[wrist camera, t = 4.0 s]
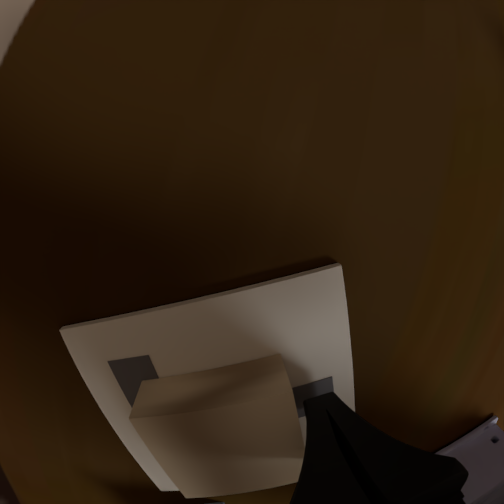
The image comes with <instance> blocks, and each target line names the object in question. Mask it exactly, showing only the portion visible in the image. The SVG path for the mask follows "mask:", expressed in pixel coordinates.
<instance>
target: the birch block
mask: <svg viewBox="0 0 504 504" xmlns="http://www.w3.org/2000/svg"><path fill="white" fill-rule="evenodd" d="M129 420H130V422H131V423H132V425H133V427H134V428H135V430H136V431H137V433H138V434H139V436H140V437H141V439H142V440H143V442H144V443H145V445H146V446H147V448H148V449H149V451H150V452H151V454H152V455H153V456H154V458H155V459H156V461H157V462H158V463H159V465H160V466H161V467H162V469H163V470H164V471H165V473H166V474H167V475H168V477H169V478H170V479H171V480H172V482H173V483H174V484H175V486H176V487H177V488H178V489H179V490H180V492H181V493H182V494H183V495H184V497H185V498H201V497H213V496H222V495H231V494H238V493H245V492H251V491H257V490H263V489H268V488H273V487H278V486H283V485H287V484H291V483H296V482H298V479H299V475H300V472H301V468H302V463H303V458H304V452H305V446H304V441H303V437H302V432H301V427H300V423H299V418H298V413H297V409H296V404H295V399H294V395H293V390H292V387H291V384H290V381H289V378H288V375H287V372H286V369H285V366H284V363H283V360H282V357H281V354H276V355H273V356H269V357H264V358H260V359H256V360H252V361H248V362H243V363H239V364H234V365H229V366H225V367H220V368H215V369H210V370H205V371H199V372H194V373H188V374H183V375H177V376H171V377H164V378H158V379H151V380H144V381H142V382H141V385H140V388H139V390H138V393H137V396H136V399H135V402H134V404H133V407H132V410H131V413H130V416H129Z"/></svg>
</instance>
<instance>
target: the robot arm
mask: <svg viewBox="0 0 504 504" xmlns="http://www.w3.org/2000/svg"><path fill="white" fill-rule="evenodd" d="M303 405H304V411H305V416H306V423H307V424H306V444H305V452H304V458H303V463H302V468H301V472H300V475H299V479H298V482H297V486H296V488H295V491H294V494H293V496H292V499H291V501H290V504H504V432H503V431H502V430H501V428H500V427H499V426H498V425H497V424H496V423H497V420H498V417H497V416H496V415H495V416H493V417H492V418H490V419H489V420H487V421H486V422H485V423H483V424H482V425H480V426H479V427H477V428H476V429H474V430H473V431H471V432H470V433H468V434H467V435H465V436H463V437H462V438H460V439H459V440H457V441H455V442H454V443H452V444H450V445H449V446H447V447H445V448H443V449H442V450H440V451H438V452H436V453H431V452H427V451H424V450H421V449H418V448H415V447H413V446H410V445H408V444H405V443H403V442H401V441H399V440H396V439H394V438H392V437H391V436H389V435H387V434H385V433H383V432H382V431H380V430H379V429H377V428H376V427H374V426H373V425H371V424H370V423H368V422H367V421H365V420H364V419H363V418H362V417H360V416H359V415H358V414H357V413H355V412H354V411H353V410H352V409H351V408H350V407H348V406H347V405H346V404H345V403H344V402H343V401H342V400H341V399H340V398H339V397H338V396H337V395H336V394H335V393H334V392H329V393H326V394H322V395H319V396H316V397H312V398H309V399H305V400H304V401H303Z"/></svg>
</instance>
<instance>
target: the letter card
mask: <svg viewBox="0 0 504 504" xmlns="http://www.w3.org/2000/svg"><path fill="white" fill-rule="evenodd" d="M59 331H60V333H61V335H62V338H63V340H64V342H65V344H66V346H67V348H68V350H69V352H70V354H71V356H72V358H73V360H74V362H75V364H76V366H77V368H78V370H79V372H80V374H81V376H82V378H83V379H84V381H85V383H86V385H87V387H88V388H89V390H90V392H91V394H92V395H93V397H94V399H95V400H96V402H97V404H98V405H99V407H100V409H101V410H102V412H103V413H104V415H105V417H106V418H107V420H108V421H109V423H110V424H111V426H112V427H113V429H114V430H115V432H116V433H117V435H118V436H119V438H120V439H121V441H122V442H123V443H124V445H125V446H126V448H127V449H128V450H129V452H130V453H131V454H132V456H133V457H134V458H135V460H136V461H137V462H138V464H139V465H140V466H141V467H142V469H143V470H144V471H145V472H146V474H147V475H148V476H149V477H150V479H151V480H152V481H153V482H154V483H155V485H156V486H157V487H158V488H159V489H160V490H161V491H179V489H178V488H177V487H176V486H175V484H174V483H173V482H172V480H171V479H170V478H169V477H168V475H167V474H166V473H165V471H164V470H163V469H162V467H161V466H160V465H159V463H158V462H157V461H156V459H155V458H154V456H153V455H152V454H151V452H150V451H149V449H148V448H147V446H146V445H145V443H144V442H143V440H142V439H141V437H140V436H139V434H138V433H137V431H136V430H135V428H134V427H133V425H132V423H131V422H130V420H129V416H130V413H131V410H132V407H133V404H134V402H135V399H136V396H137V393H138V390H139V388H140V385H141V382H142V381H144V380H151V379H158V378H164V377H171V376H177V375H183V374H188V373H194V372H199V371H205V370H210V369H215V368H220V367H225V366H229V365H234V364H239V363H243V362H248V361H252V360H256V359H260V358H264V357H269V356H273V355H276V354H281V357H282V360H283V363H284V366H285V369H286V372H287V375H288V378H289V381H290V384H291V387H292V390H293V395H294V399H295V404H296V409H297V413H298V418H299V423H300V427H301V432H302V437H303V441H304V446H305V444H306V424H307V423H306V416H305V411H304V405H303V401H304V400H305V399H309V398H312V397H316V396H319V395H322V394H326V393H329V392H334V393H335V394H336V395H337V396H338V397H339V398H340V399H341V400H342V401H343V402H344V403H345V404H346V405H347V406H348V407H350V408H351V409H352V410H353V411H354V412H355V399H354V380H353V365H352V353H351V341H350V330H349V321H348V311H347V303H346V295H345V287H344V279H343V272H342V265H340V264H339V263H335V264H331V265H327V266H324V267H320V268H316V269H312V270H308V271H305V272H301V273H297V274H293V275H289V276H285V277H281V278H277V279H273V280H269V281H265V282H261V283H257V284H253V285H249V286H245V287H241V288H237V289H233V290H229V291H224V292H220V293H216V294H212V295H207V296H203V297H199V298H195V299H190V300H186V301H181V302H177V303H173V304H168V305H164V306H159V307H154V308H150V309H145V310H141V311H136V312H131V313H127V314H122V315H117V316H112V317H107V318H102V319H97V320H92V321H87V322H82V323H77V324H72V325H67V326H63V327H62V328H61V329H60V330H59Z"/></svg>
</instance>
